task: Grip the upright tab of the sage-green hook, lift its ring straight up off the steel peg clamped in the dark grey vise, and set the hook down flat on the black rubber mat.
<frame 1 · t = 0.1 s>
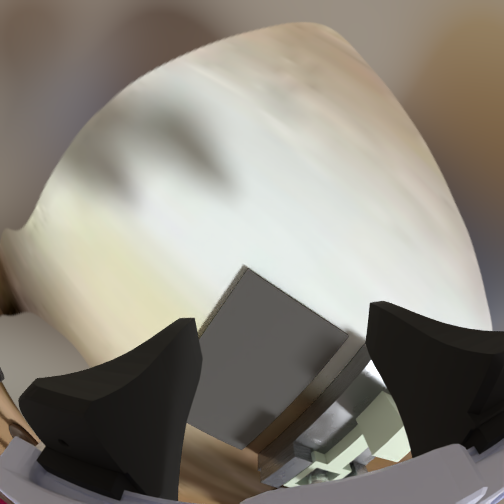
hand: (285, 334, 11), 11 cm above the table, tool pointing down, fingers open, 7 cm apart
sage hook: (315, 469, 20), point 2 cm above the table, touching vise
black mat: (244, 376, 22), on the table
candlestick: (29, 442, 25), on the table
vise: (344, 425, 22), on the table
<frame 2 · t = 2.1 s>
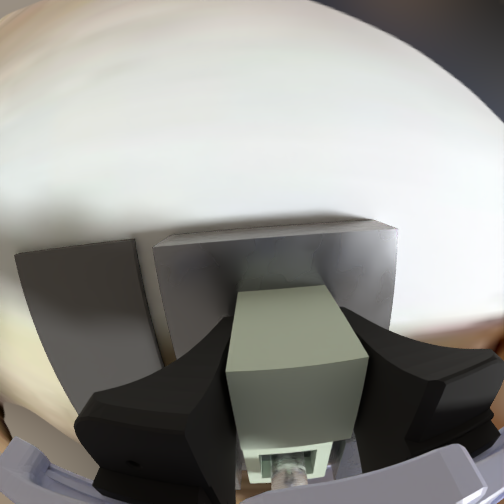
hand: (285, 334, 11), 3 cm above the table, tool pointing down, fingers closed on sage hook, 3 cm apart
sage hook: (286, 447, 14), point 3 cm above the table, touching gripper, vise
black mat: (99, 363, 15), on the table
vise: (282, 366, 15), on the table
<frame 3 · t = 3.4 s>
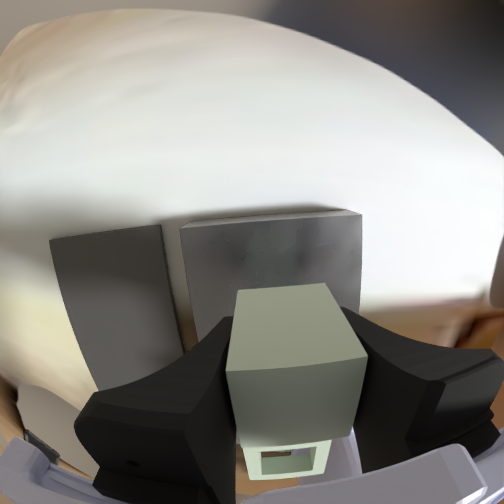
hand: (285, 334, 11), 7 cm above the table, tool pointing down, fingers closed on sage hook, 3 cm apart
sage hook: (285, 444, 14), point 6 cm above the table, touching gripper
black mat: (122, 332, 19), on the table
phone: (42, 451, 29), on the table
vise: (277, 329, 19), on the table
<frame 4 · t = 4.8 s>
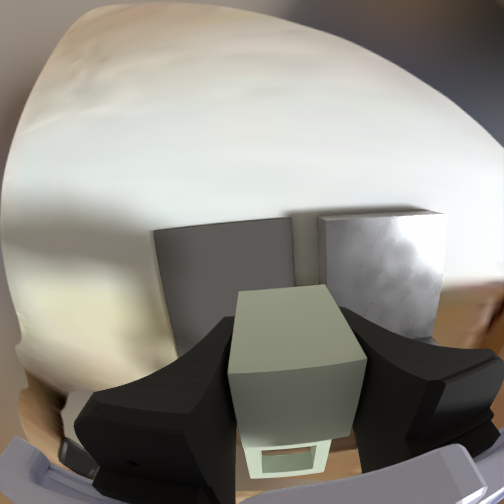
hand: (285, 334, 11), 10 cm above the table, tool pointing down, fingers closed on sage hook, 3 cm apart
sage hook: (286, 442, 14), point 9 cm above the table, touching gripper
black mat: (232, 323, 22), on the table
phone: (80, 459, 31), on the table
vise: (375, 308, 21), on the table
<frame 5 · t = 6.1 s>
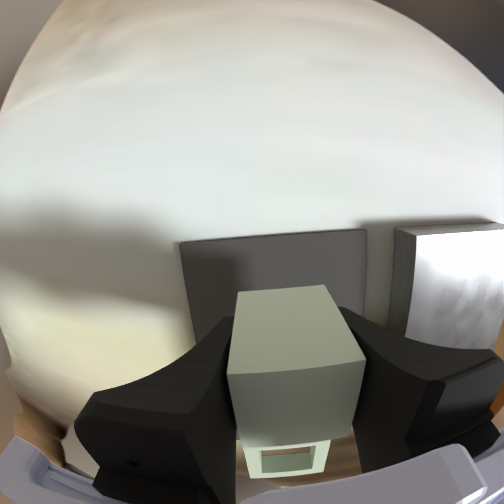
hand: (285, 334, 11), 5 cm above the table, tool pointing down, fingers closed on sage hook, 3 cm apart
sage hook: (285, 442, 14), point 4 cm above the table, touching gripper
black mat: (281, 361, 16), on the table
phone: (84, 482, 26), on the table
vise: (439, 333, 16), on the table
when the fingers open (3 cm above the table, at t = 7.3 s): sage hook drops 1 cm, resting on black mat.
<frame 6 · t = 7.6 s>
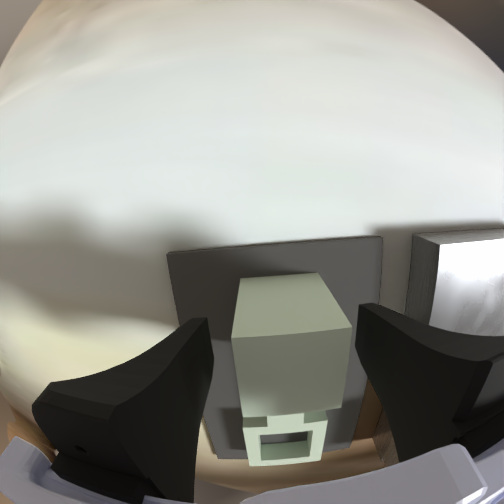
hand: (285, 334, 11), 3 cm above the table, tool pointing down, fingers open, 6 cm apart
sage hook: (283, 430, 15), resting on black mat
black mat: (283, 381, 14), on the table
vise: (454, 346, 14), on the table
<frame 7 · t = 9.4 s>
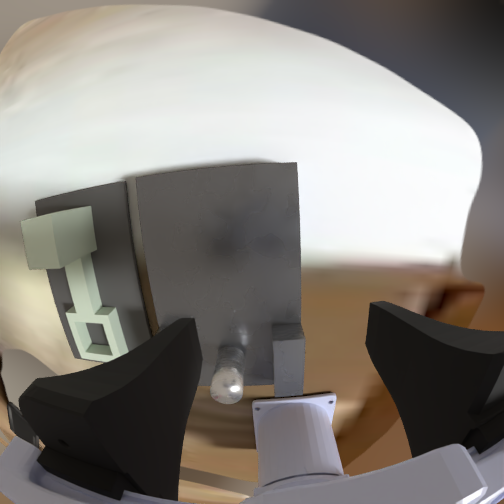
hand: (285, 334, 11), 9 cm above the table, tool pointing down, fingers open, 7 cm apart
sage hook: (100, 330, 21), resting on black mat
black mat: (91, 284, 20), on the table
phone: (25, 426, 30), on the table
vise: (227, 280, 20), on the table
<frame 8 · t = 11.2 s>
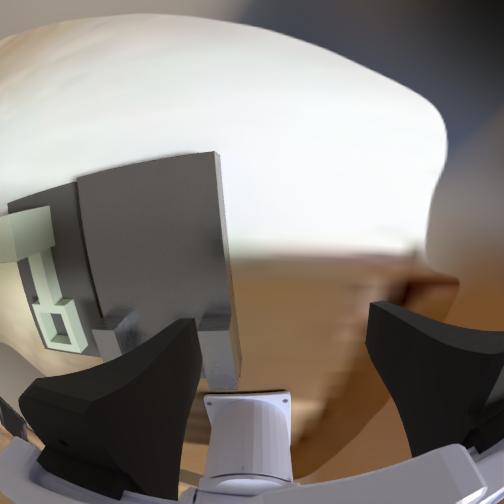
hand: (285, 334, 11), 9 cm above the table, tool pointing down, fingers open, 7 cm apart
sage hook: (63, 321, 21), resting on black mat
black mat: (53, 278, 20), on the table
phone: (14, 421, 30), on the table
vise: (165, 272, 20), on the table
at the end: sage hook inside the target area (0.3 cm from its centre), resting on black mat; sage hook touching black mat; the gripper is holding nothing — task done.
